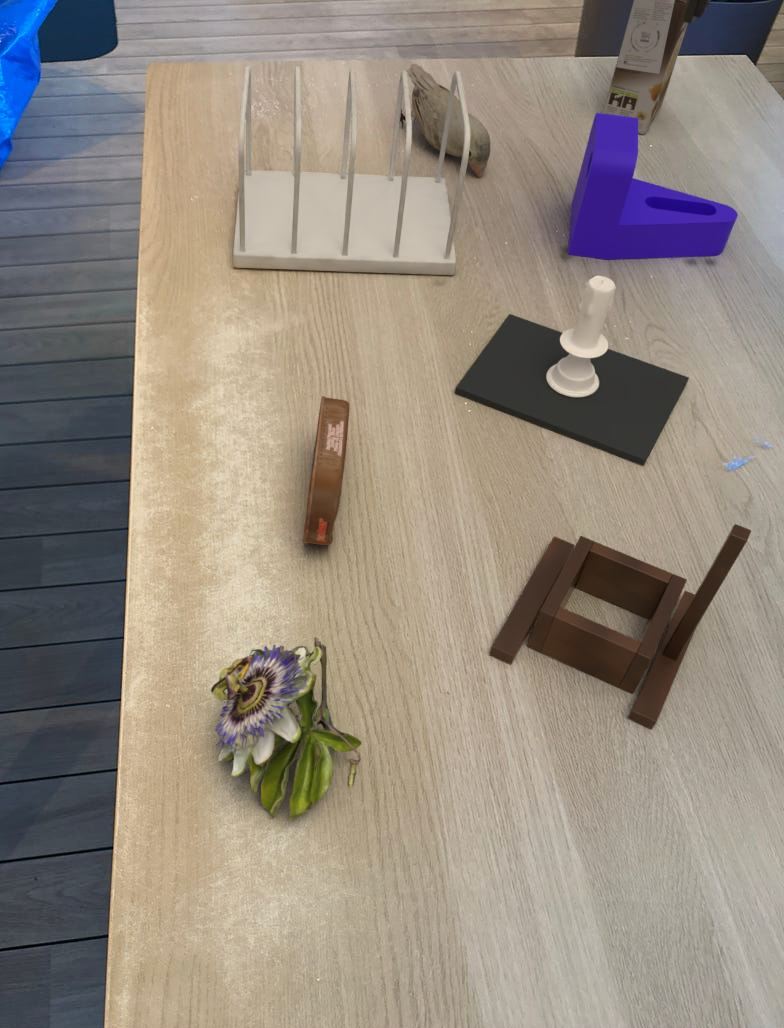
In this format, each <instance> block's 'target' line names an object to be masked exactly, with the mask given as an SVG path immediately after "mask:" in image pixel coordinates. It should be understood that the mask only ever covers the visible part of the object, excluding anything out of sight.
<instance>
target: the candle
mask: <svg viewBox="0 0 784 1028" xmlns="http://www.w3.org/2000/svg"><path fill="white" fill-rule="evenodd" d="M616 289H617V288H616V284H615V282H614V281H613V280H612V279H611V278H609V277H607V276H603V275H595V276H594V277H591V278H590V279H588V281H587V282H586V285H585V288H584V291H583V295H582V298H581V300H580V302H579V304H578V306H577V311H578V315H577V318H576V322H575V325H574V327H570V328H568V329H566V330H564V331H563V332H562V335H561V337H560V343H561V346H562V347H563V348H564V349H565V350H566V351H567V352H568V353H570V354H569V355H568V356H567V357H565V358H563V359H561V360H560V361H559V362H558V363H557V364H555V365H553V366H552V367H551V368H550V369H549V370H548V371H547V374H546V379H547V382H548V384H549V385H550V387H551V388H552V389H553V390H555V391H556V392H558V393H560V394H562V395H565V396H568V397H577V398H578V397H586V396H589V395H591V394H593V393H594V392H595V391H596V390H597V389H598V387H599V379H598V376H597V375H596V373H595V369H594V366H593V365H592V364H591V361H590V358H596V357H599V356H601V355H603V354H604V353H605V352H606V351H607V349H609V341H608V339H607V338H606V337H605V336H604V335H603V334H602V331H603V328H604V325H605V322H606V318H607V316H608V313H609V311H610V310H611V309H612V307H613V305H614V297H615V294H616Z"/></svg>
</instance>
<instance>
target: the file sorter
mask: <svg viewBox="0 0 784 1028" xmlns="http://www.w3.org/2000/svg"><path fill="white" fill-rule="evenodd" d="M293 81H294V83H293V85H294V87H293V89H294V92H293V103H294V104H293V171H287V170H285V171H284V170H259V169H258V170H255V169H252V71H251V66H250V65H245V67H244V75H243V81H242V82H243V84H242V93H241V102H240V113H239V126H238V192H237V193H238V194H237V203H236V204H237V205H236V215H235V227H234V228H235V229H234V236H233V249H232V250H233V251H232V266H233V268H238V269H239V268H240V269H241V268H242V269H243V268H244V269H269V270H270V269H271V270H272V269H273V270H295V271H296V270H298V271H321V272H345V273H346V272H347V273H348V272H349V273H375V274H378V273H379V274H407V275H433V276H434V275H436V276H437V275H438V276H454V275H455V273H456V265H457V258H456V251H455V249H456V248H455V242H454V237H455V232H456V227H457V221H458V216H459V211H460V206H461V200H462V195H463V189H464V185H465V180H466V173H467V167H468V164H469V162H468V157H469V150H470V123H469V117H468V113H469V111H468V105H467V100H466V93H465V88H464V82H463V77H462V72H461V71H460V70H455V71H454V72H453V74H452V78H451V81H450V87H449V91H450V93H449V99H448V105H447V112H446V118H445V124H444V130H443V137H442V143H441V149H440V151H439V156H438V161H437V169H436V176H435V177H434V176H433V177H430V176H411V175H409V172H410V162H411V155H412V143H413V142H412V139H413V121H412V120H413V119H412V116H411V111H412V108H411V100H410V89H409V88H410V87H409V79H408V73H407V70H402V71H400V76H399V80H398V81H399V82H398V89H397V98H396V107H395V115H394V116H395V118H394V127H393V134H392V144H391V153H390V162H389V171H388V174H387V175H386V174H385V175H384V174H367V173H366V174H365V173H362V174H361V173H355V170H356V159H357V158H356V157H357V156H356V155H357V142H358V102H357V84H356V83H357V79H356V69H355V68H353V67H351V68H349V72H348V82H347V91H346V92H347V93H346V104H345V105H346V106H345V107H346V108H345V119H344V133H343V134H344V135H343V146H342V147H343V149H342V160H341V172H317V171H316V172H314V171H301V167H302V166H301V162H302V88H301V87H302V85H301V84H302V83H301V67H300V65H296V66H294V80H293ZM456 88H457V95H458V100H460V107H461V114H462V121H463V127H464V148H463V156H461V163H460V169H459V173H458V181H457V184H456V191H455V196H454V200H453V201H454V202H453V207H452V212H451V209H450V201H449V194H448V185H447V179H446V178H445V177H442V174H443V168H444V162H445V157H446V156H445V155H446V153H445V150H446V144H447V138H448V131H449V125H450V119H451V113H452V107H453V101H454V95H455V94H456ZM455 96H456V95H455ZM402 107H404V116H405V121H404V122H405V146H404V148H405V149H404V157H403V168H402V175H395V168H396V167H395V165H396V158H397V148H398V140H399V133H400V132H399V131H400V124H401V122H400V116H401V108H402ZM350 127H351V134H350ZM350 135H351V138H350ZM349 140H350V151H349ZM348 152H349V155H348ZM348 156H349V165H348ZM347 166H348V173H347Z"/></svg>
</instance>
